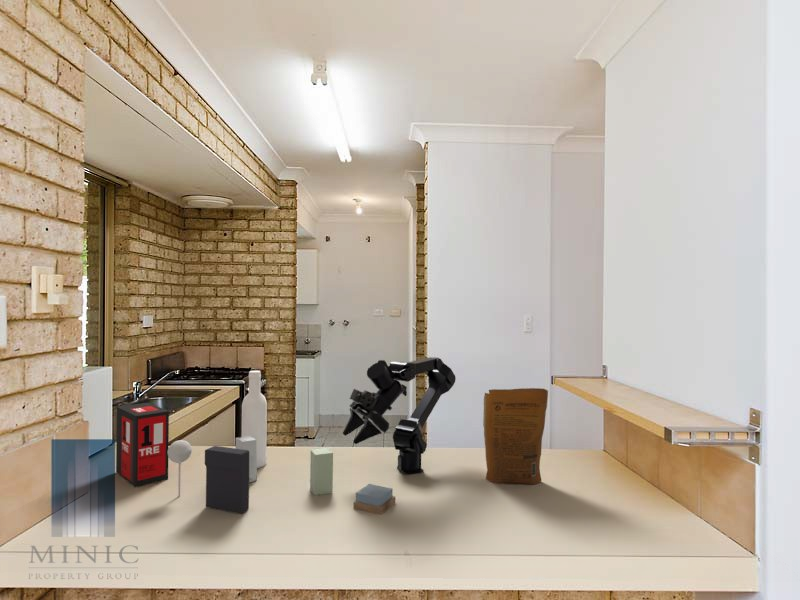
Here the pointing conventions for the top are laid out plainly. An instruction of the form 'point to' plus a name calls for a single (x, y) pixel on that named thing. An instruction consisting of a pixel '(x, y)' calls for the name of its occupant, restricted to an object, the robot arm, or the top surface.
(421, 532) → the top surface
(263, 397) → the bottle
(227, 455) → the calculator
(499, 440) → the pancake mix bag
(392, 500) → the walnut base block
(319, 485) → the sage block
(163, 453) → the cleaning product box
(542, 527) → the top surface
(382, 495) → the slate top block
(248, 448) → the skincare box
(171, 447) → the lollipop
